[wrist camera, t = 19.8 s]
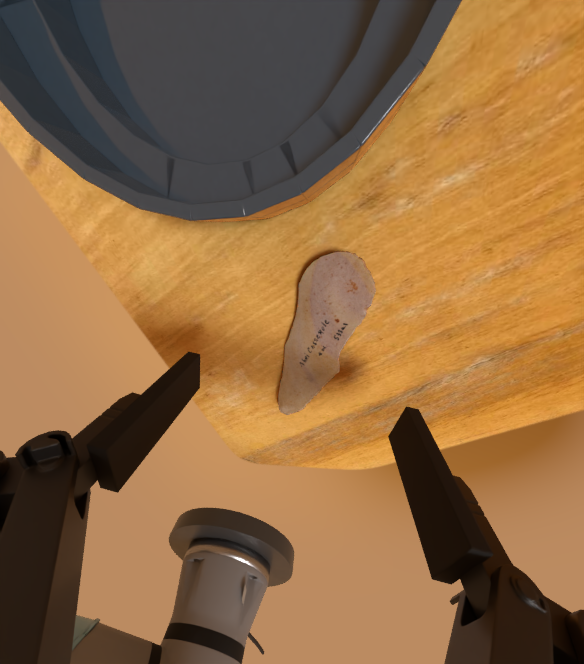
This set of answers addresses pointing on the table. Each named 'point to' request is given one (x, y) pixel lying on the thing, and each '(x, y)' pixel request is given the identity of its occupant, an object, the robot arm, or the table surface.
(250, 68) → the bowl
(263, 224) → the table surface
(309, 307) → the stone tool
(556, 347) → the table surface
